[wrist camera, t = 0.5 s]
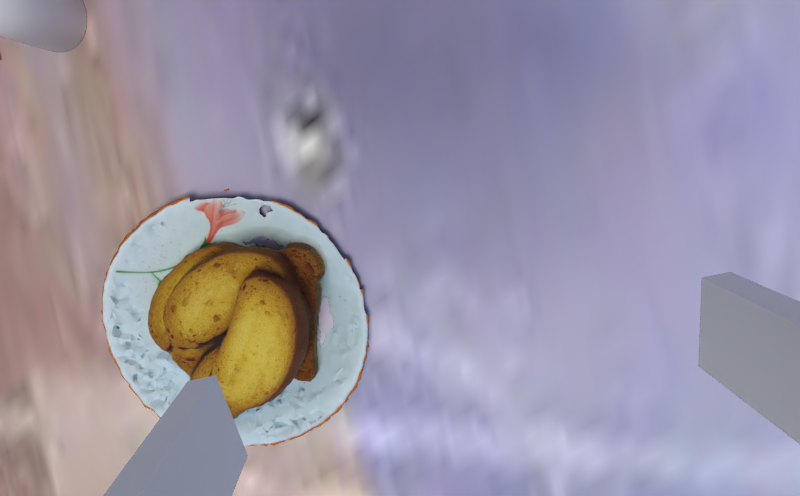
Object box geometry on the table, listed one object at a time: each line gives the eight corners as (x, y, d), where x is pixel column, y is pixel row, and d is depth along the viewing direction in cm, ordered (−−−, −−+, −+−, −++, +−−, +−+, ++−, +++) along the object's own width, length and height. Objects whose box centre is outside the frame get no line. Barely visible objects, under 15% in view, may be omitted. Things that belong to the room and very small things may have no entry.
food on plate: (92, 213, 39) (27, 224, 33) (341, 169, 36) (322, 172, 30) (167, 441, 44) (122, 489, 38) (390, 417, 42) (382, 464, 35)
